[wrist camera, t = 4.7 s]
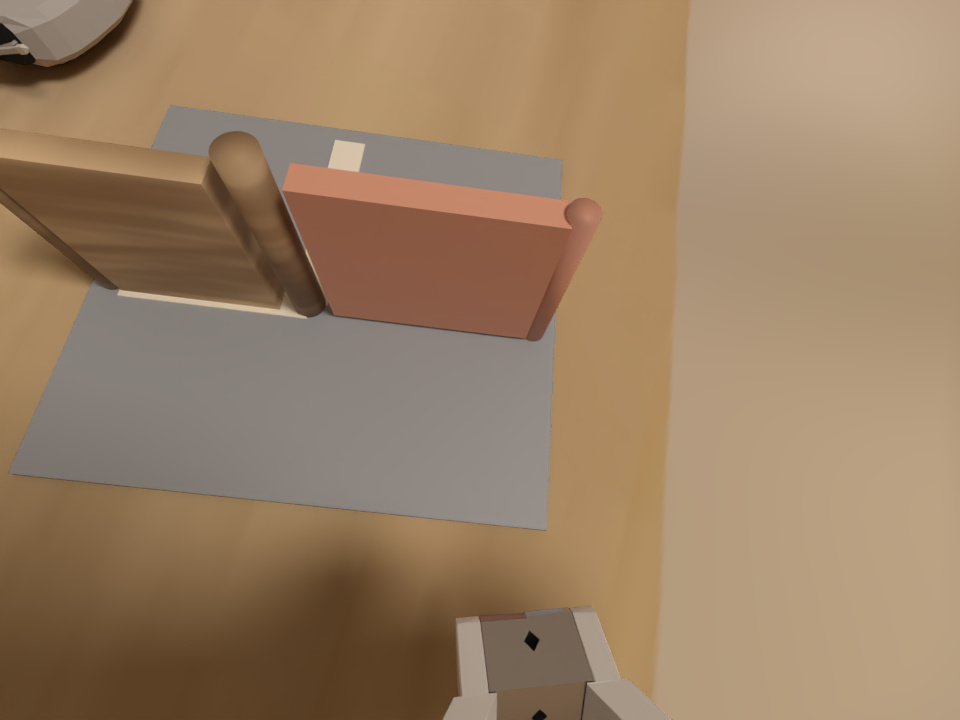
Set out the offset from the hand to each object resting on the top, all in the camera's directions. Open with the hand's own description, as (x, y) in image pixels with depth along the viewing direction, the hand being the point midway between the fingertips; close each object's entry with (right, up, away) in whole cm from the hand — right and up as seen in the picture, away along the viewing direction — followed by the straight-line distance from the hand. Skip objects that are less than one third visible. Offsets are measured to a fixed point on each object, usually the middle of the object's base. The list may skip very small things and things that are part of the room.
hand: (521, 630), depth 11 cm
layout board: (-9, +10, +16) cm, 21 cm away
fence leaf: (-3, +8, +16) cm, 18 cm away
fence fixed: (-15, +9, +15) cm, 23 cm away
